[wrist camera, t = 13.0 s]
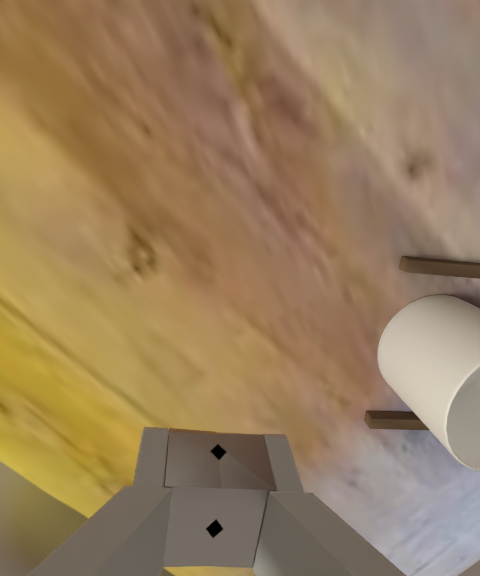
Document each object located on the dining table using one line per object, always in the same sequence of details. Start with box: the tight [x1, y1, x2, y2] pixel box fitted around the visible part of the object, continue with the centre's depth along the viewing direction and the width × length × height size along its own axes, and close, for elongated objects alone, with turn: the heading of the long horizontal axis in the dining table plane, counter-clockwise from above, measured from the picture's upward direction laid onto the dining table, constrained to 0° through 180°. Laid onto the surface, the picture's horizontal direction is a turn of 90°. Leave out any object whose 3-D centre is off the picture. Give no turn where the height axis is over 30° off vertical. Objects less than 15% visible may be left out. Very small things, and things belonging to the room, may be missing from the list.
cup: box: [378, 295, 480, 471], centre depth 38 cm, size 12×12×12 cm
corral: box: [364, 256, 480, 430], centre depth 43 cm, size 20×13×3 cm, turn 173°
